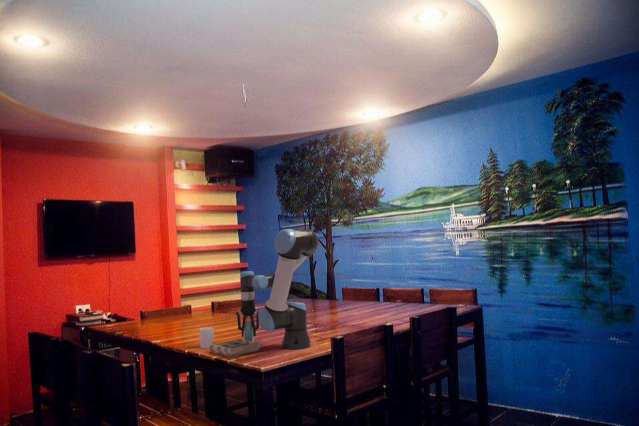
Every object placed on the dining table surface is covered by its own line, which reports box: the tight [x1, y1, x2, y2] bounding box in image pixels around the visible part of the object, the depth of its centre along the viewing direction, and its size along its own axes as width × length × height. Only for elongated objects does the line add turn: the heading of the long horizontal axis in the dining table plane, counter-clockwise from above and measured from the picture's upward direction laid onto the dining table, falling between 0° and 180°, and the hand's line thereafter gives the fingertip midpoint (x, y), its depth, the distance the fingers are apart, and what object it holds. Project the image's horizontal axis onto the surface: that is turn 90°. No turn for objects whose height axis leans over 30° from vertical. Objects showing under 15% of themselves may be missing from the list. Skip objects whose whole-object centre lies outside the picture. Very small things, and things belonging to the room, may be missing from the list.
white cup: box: [198, 326, 215, 349], centre depth 255 cm, size 8×8×10 cm
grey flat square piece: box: [209, 338, 261, 358], centre depth 240 cm, size 18×18×4 cm
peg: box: [245, 321, 253, 341], centre depth 257 cm, size 4×4×12 cm
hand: (249, 342), depth 257 cm, fingers closed on peg, 4 cm apart
